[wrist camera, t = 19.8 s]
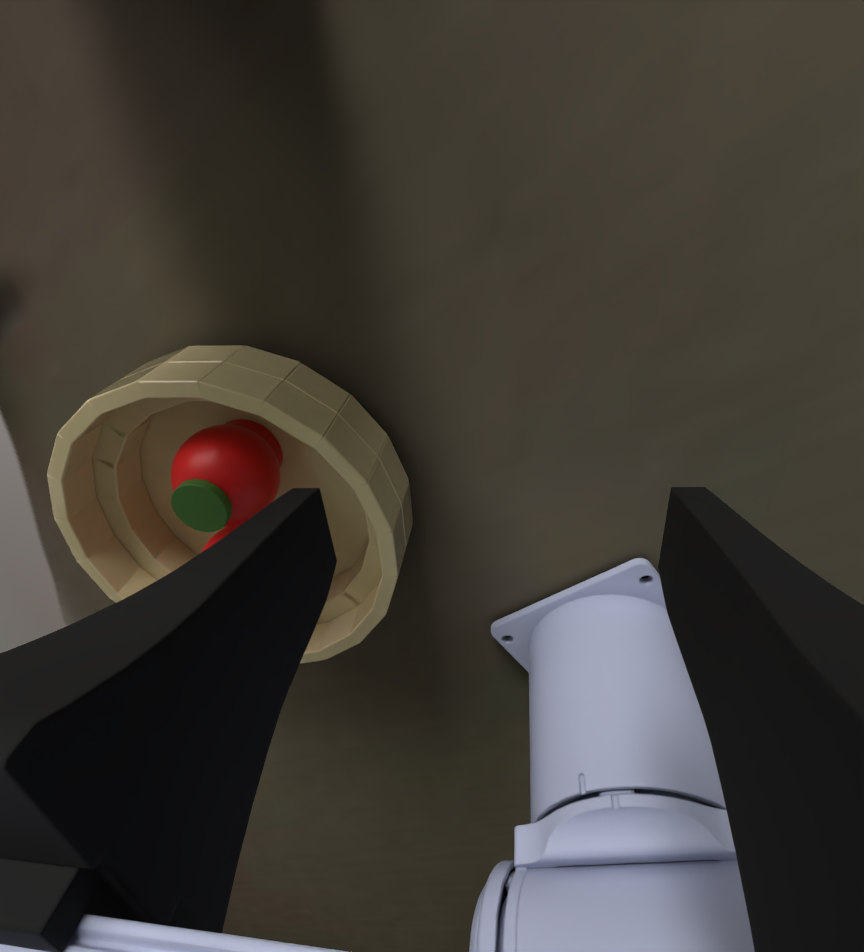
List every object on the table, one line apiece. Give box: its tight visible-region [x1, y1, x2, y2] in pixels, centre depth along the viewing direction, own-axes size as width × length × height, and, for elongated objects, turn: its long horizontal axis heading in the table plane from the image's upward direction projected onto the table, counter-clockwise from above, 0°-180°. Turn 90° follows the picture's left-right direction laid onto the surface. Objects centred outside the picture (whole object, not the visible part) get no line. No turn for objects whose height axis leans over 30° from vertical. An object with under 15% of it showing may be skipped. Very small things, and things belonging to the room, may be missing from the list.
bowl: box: [47, 345, 413, 664], centre depth 22 cm, size 13×13×4 cm
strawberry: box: [171, 419, 283, 532], centre depth 20 cm, size 4×4×4 cm
